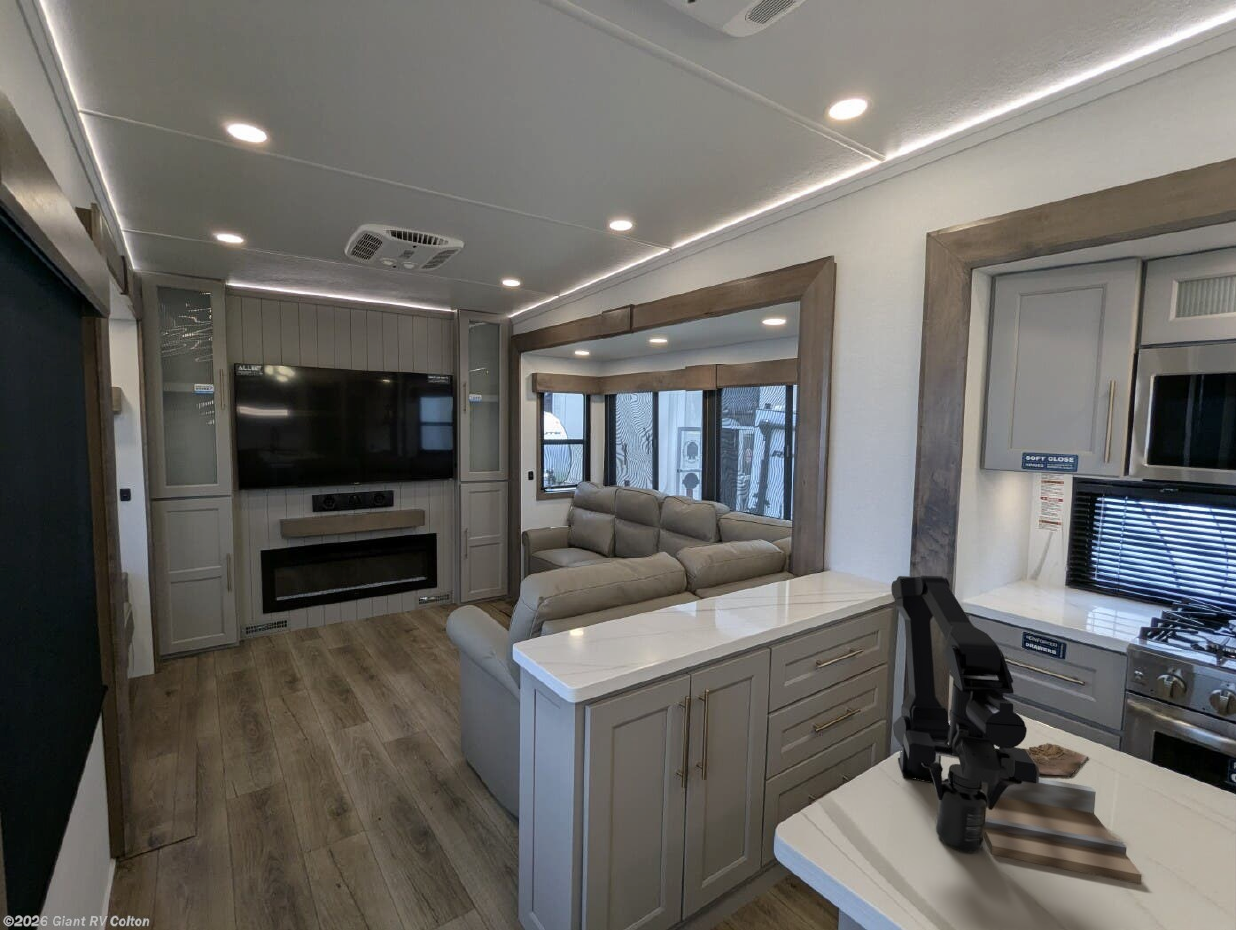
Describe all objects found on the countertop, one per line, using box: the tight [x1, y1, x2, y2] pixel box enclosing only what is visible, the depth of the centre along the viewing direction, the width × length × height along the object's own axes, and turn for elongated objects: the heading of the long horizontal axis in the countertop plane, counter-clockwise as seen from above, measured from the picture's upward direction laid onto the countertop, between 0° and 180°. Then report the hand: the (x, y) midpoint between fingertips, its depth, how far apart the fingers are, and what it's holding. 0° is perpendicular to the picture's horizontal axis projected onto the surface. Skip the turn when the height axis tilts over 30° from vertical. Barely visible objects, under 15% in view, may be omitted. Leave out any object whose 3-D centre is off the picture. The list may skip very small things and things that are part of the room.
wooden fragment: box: [1015, 742, 1089, 777], centre depth 119 cm, size 26×11×1 cm, turn 100°
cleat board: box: [981, 777, 1142, 885], centre depth 98 cm, size 20×16×6 cm
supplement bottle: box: [935, 763, 987, 854], centre depth 96 cm, size 7×7×12 cm
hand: (964, 803), depth 96 cm, fingers open, 7 cm apart
